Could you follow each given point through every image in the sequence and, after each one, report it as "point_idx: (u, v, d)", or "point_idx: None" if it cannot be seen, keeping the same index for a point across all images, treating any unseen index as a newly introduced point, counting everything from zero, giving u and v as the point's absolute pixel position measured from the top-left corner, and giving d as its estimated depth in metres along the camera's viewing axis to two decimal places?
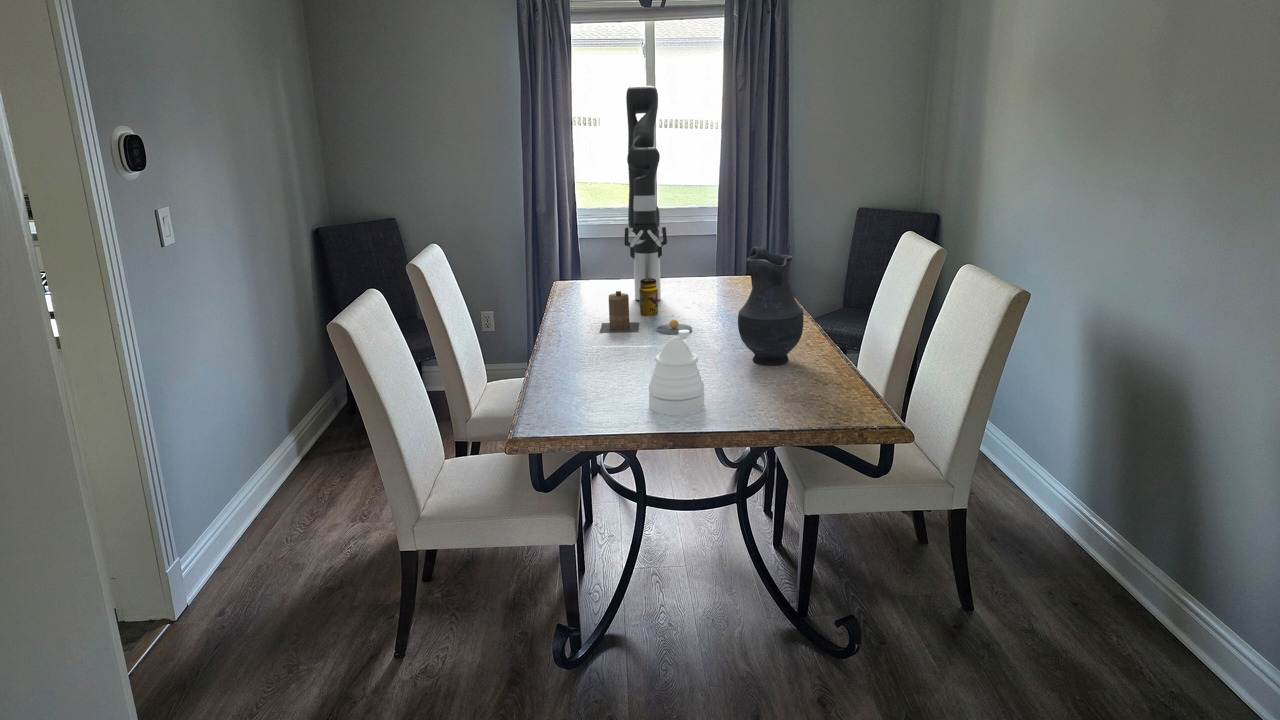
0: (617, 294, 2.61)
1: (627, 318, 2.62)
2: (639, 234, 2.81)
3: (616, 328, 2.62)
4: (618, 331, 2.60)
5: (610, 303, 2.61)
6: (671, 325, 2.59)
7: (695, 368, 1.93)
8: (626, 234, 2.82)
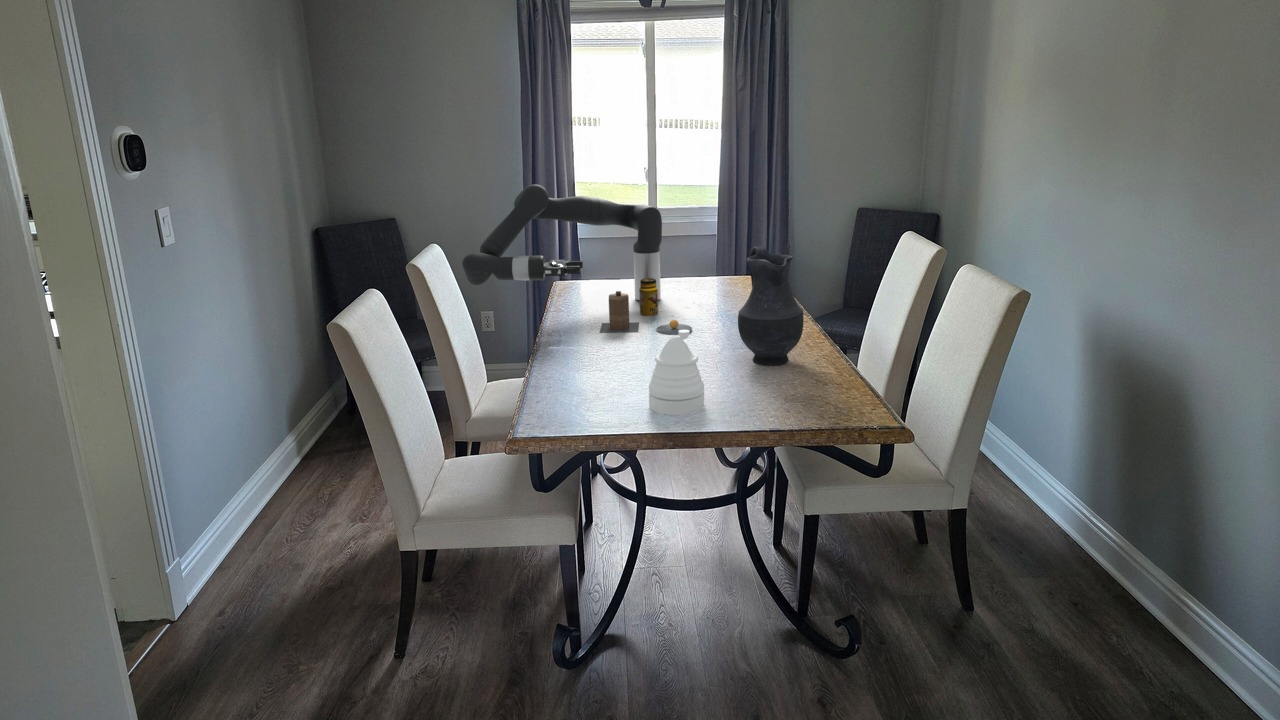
0: (617, 294, 2.61)
1: (627, 318, 2.62)
2: None
3: (616, 328, 2.62)
4: (618, 331, 2.60)
5: (610, 303, 2.61)
6: (671, 325, 2.59)
7: (695, 368, 1.93)
8: None
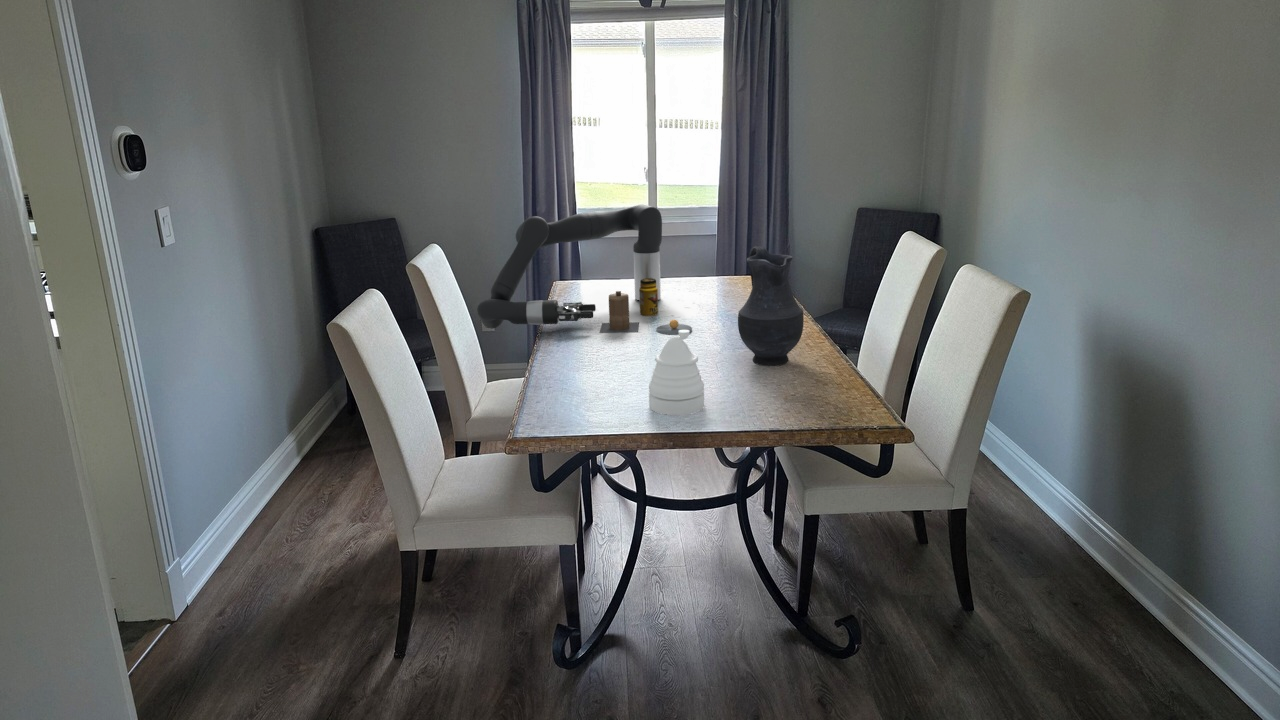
0: (617, 294, 2.61)
1: (627, 318, 2.62)
2: None
3: (616, 328, 2.62)
4: (618, 331, 2.60)
5: (610, 303, 2.61)
6: (671, 325, 2.59)
7: (695, 368, 1.93)
8: None
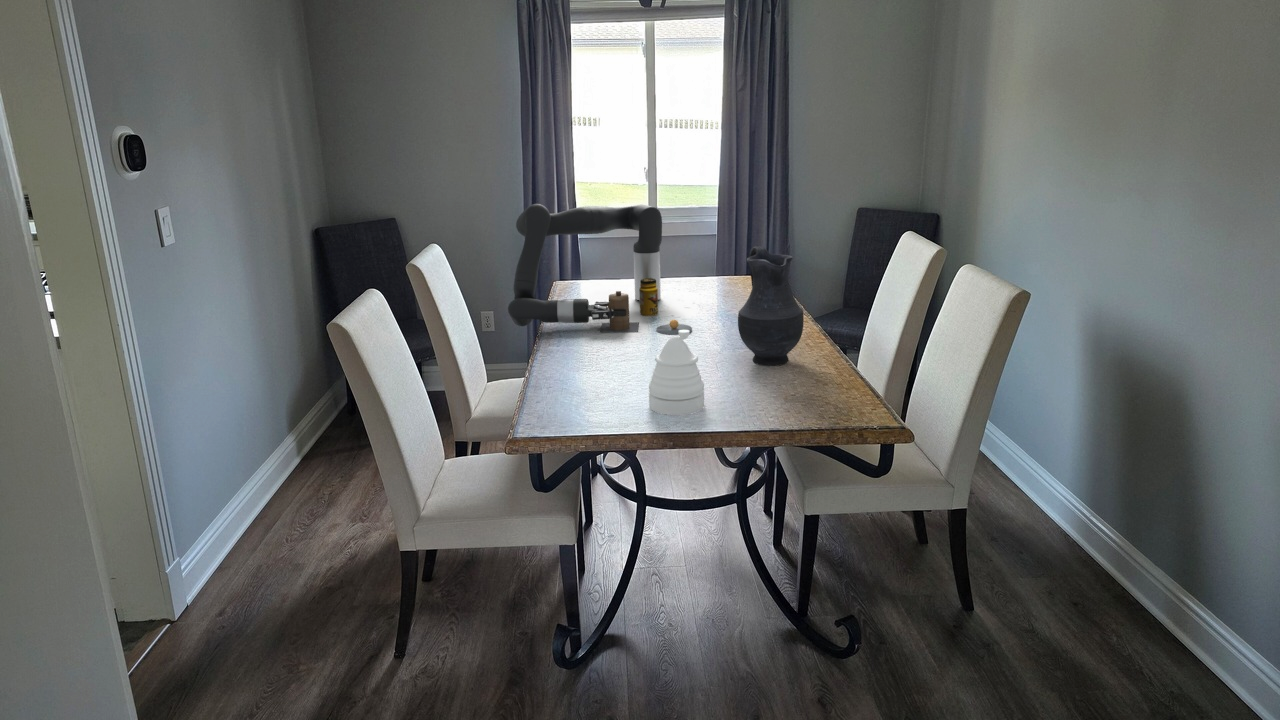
0: (617, 294, 2.61)
1: (627, 318, 2.62)
2: None
3: (616, 328, 2.62)
4: (618, 331, 2.60)
5: (610, 303, 2.61)
6: (671, 325, 2.59)
7: (695, 368, 1.93)
8: None
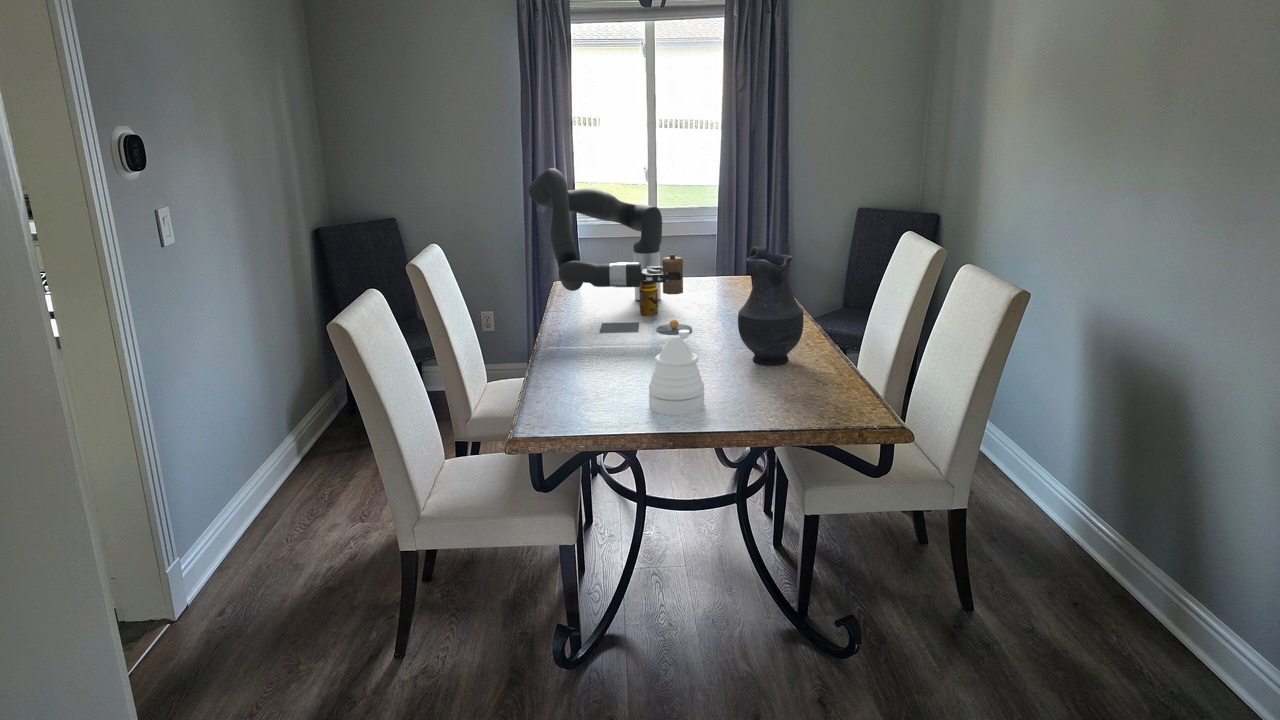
0: (671, 257, 2.53)
1: (681, 282, 2.54)
2: None
3: (670, 292, 2.54)
4: (618, 331, 2.60)
5: (664, 266, 2.53)
6: (671, 325, 2.59)
7: (695, 368, 1.93)
8: None
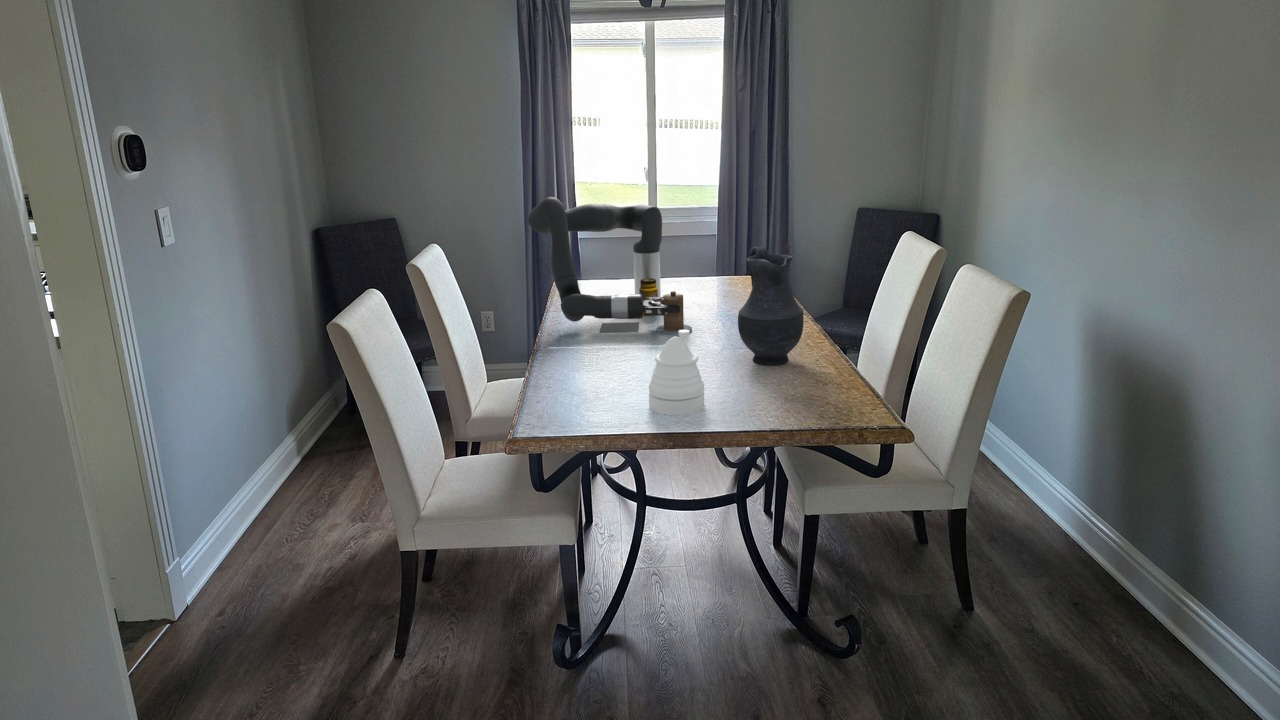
0: (672, 294, 2.56)
1: (682, 319, 2.58)
2: None
3: (671, 329, 2.57)
4: (618, 331, 2.60)
5: (665, 303, 2.56)
6: None
7: (695, 368, 1.93)
8: None
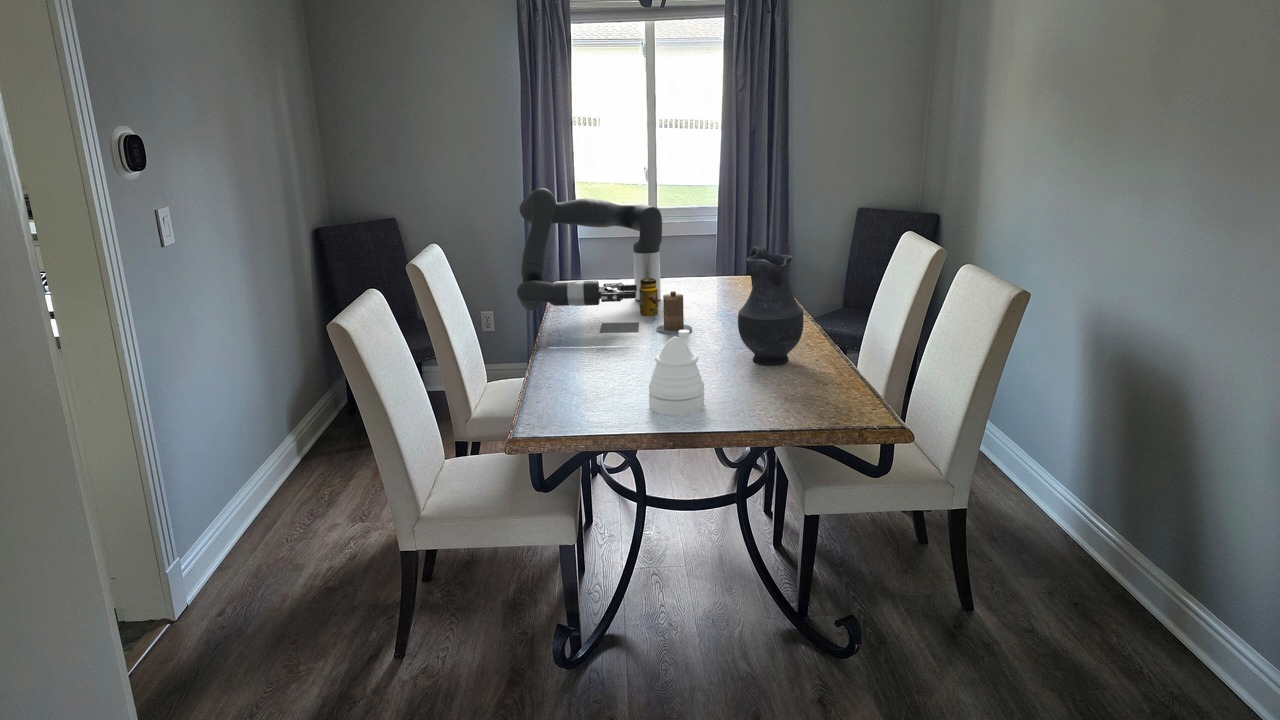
0: (672, 294, 2.56)
1: (682, 319, 2.58)
2: None
3: (671, 329, 2.57)
4: (618, 331, 2.60)
5: (665, 303, 2.56)
6: None
7: (695, 368, 1.93)
8: None
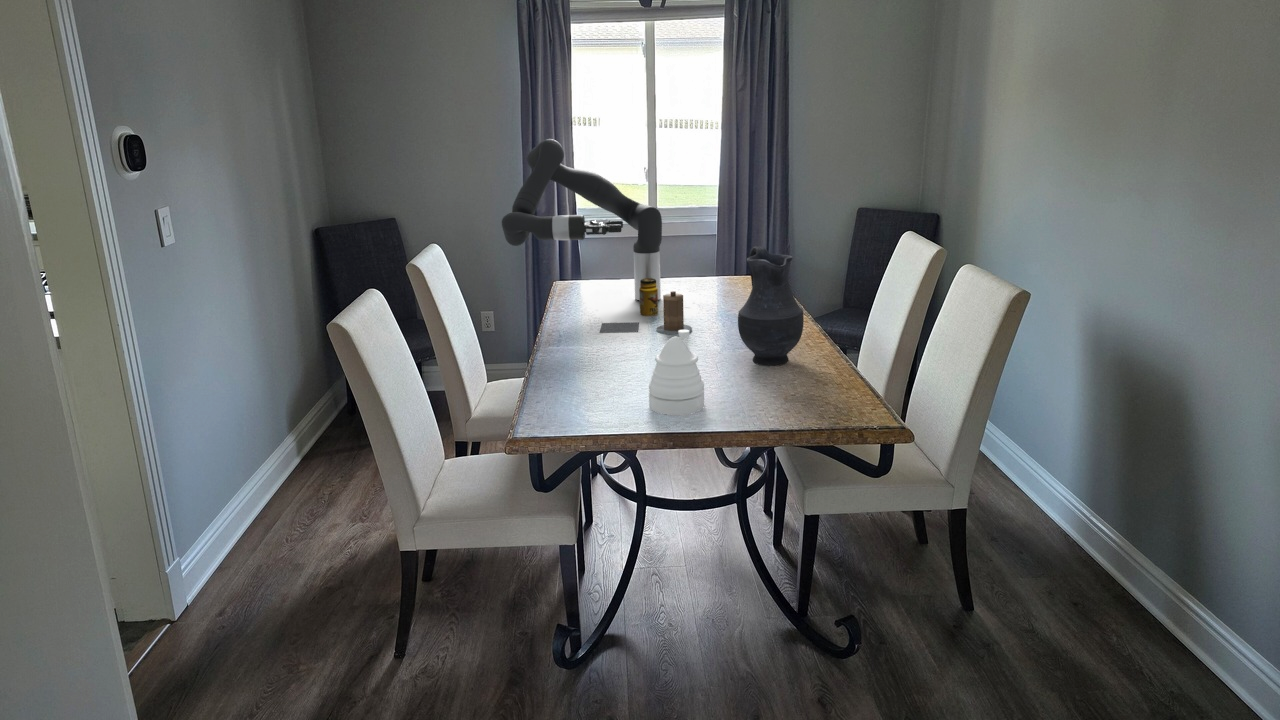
0: (672, 294, 2.56)
1: (682, 319, 2.58)
2: None
3: (671, 329, 2.57)
4: (618, 331, 2.60)
5: (665, 303, 2.56)
6: None
7: (695, 368, 1.93)
8: None
